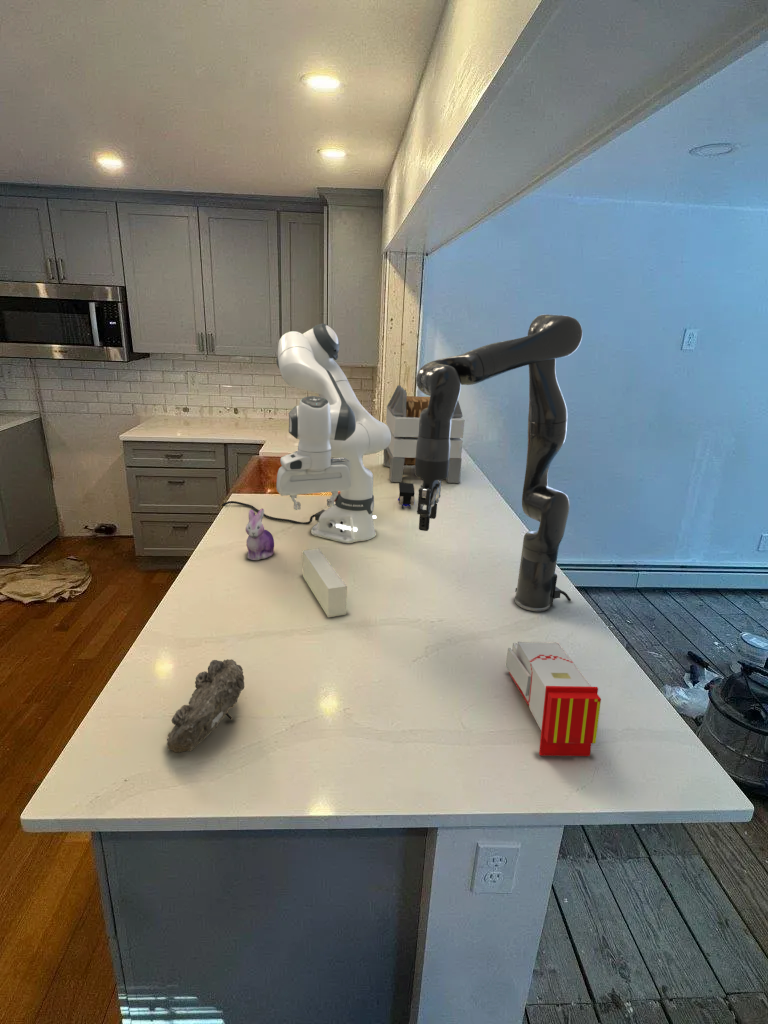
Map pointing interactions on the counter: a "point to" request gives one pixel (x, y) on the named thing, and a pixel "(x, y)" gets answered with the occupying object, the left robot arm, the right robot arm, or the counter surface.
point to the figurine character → (406, 494)
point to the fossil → (206, 705)
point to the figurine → (258, 537)
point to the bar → (324, 583)
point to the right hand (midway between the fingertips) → (427, 523)
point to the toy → (556, 697)
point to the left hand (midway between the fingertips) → (314, 507)
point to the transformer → (416, 435)
